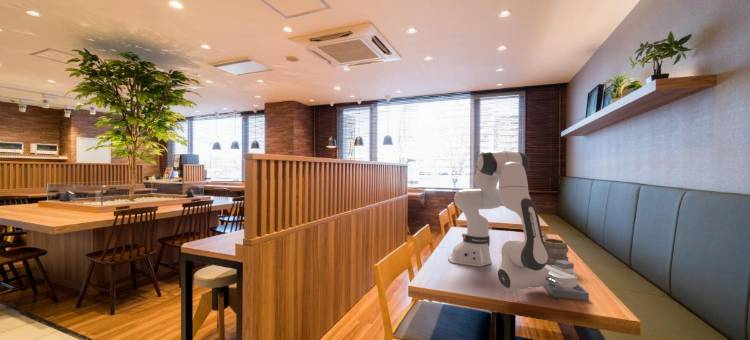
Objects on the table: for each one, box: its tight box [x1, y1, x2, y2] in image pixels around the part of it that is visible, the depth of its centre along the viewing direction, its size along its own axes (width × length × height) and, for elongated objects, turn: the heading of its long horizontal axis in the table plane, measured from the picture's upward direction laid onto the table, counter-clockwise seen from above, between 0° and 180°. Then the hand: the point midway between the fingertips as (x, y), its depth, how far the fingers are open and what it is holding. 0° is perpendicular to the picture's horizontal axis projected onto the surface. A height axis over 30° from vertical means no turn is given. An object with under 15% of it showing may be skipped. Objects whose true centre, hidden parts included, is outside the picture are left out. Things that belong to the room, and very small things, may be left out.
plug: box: [555, 260, 575, 291], centre depth 124 cm, size 4×4×12 cm
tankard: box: [542, 233, 569, 266], centre depth 156 cm, size 20×13×15 cm, turn 168°
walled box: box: [542, 282, 590, 302], centre depth 124 cm, size 13×13×3 cm
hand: (565, 271), depth 124 cm, fingers open, 8 cm apart
